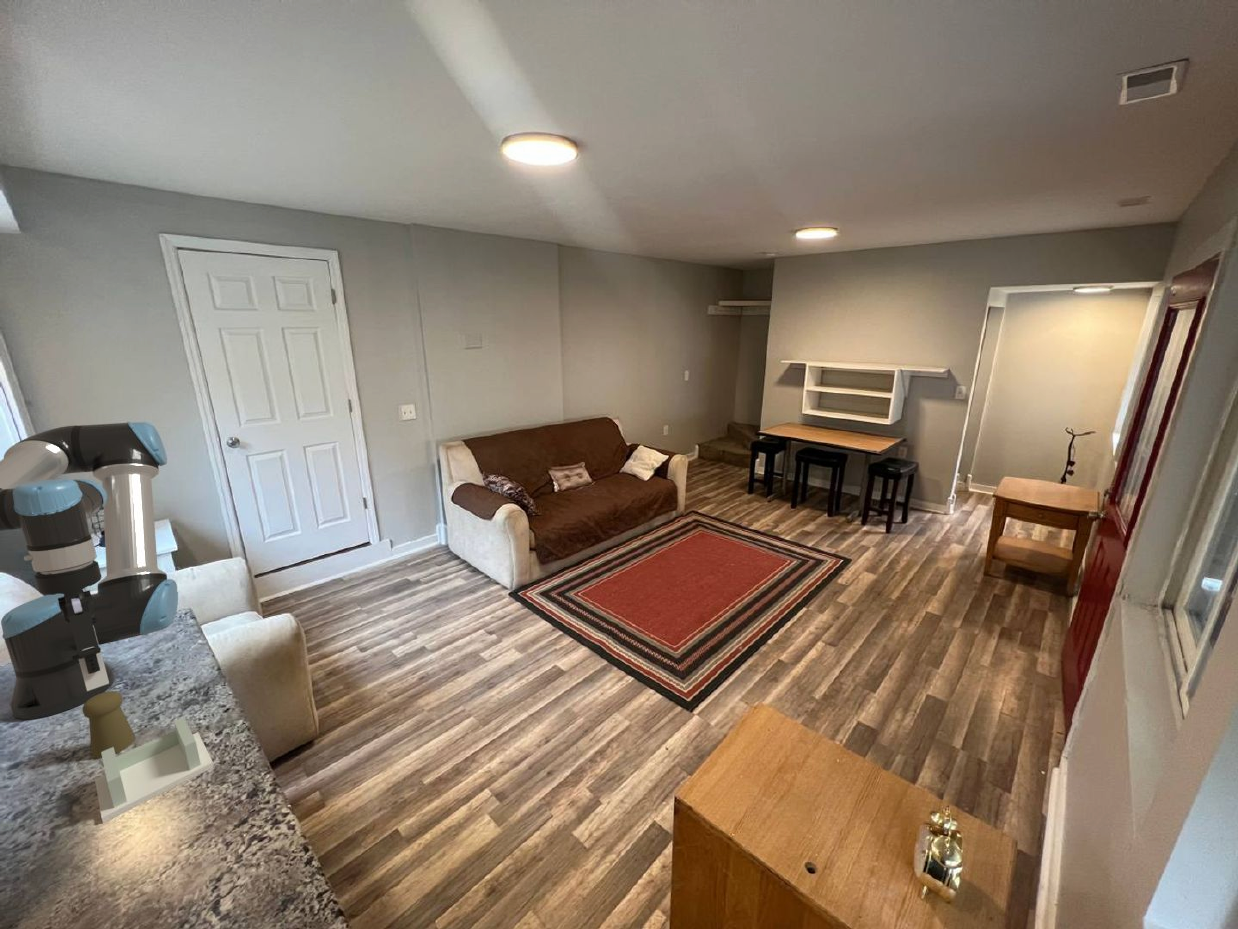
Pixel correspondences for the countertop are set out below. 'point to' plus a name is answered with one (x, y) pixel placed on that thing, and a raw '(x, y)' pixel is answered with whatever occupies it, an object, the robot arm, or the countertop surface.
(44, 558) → the robot arm
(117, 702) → the brown rounded knob
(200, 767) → the holder
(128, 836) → the countertop surface
